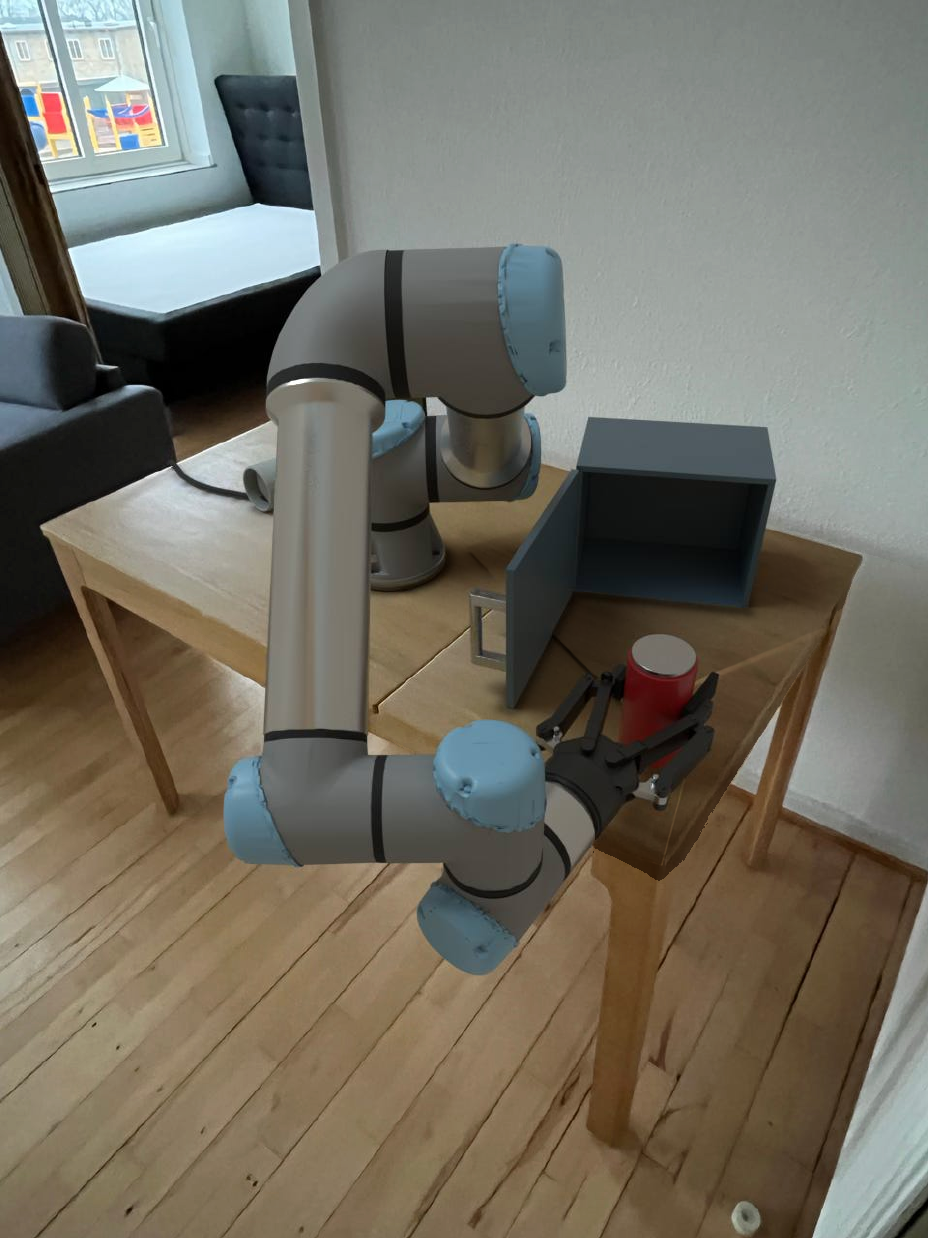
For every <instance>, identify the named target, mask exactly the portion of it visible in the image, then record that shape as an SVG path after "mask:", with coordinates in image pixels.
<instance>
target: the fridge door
mask: <svg viewBox="0 0 928 1238" xmlns="http://www.w3.org/2000/svg"><path fill="white" fill-rule="evenodd" d="M578 483H579V470H576V468H575V469H574V468H573V469H571V470H570V471H569V473H568V474H567V475H566V477H565V478H564V480H563V482H562V483H561V484H560V486H559V487H558V489H557V491H556V492H555V493H554V495H553V497H552V498H551V500H550V501H549V503H548V504H547V505H546V507H545V508H544V510H543V512H542V513H541V515H540V516H539V518H538V519H537V521H536V522H535V523H534V525H533V526H532V528H531V530H530V532H529V533H528V534H527V536H526V537H525V539H524V540H523V542H522V543H521V545H520V546H519V548H518V550H517V551H516V552H515V554H514V555H513V557H512V558H511V560H510V561H509V563H508V564H507V566H506V567H505V593H500V592H495V591H490V590H486V589H480V588H476V587H474V588H470V589H469V590H468V617H469V640H470V642H469V643H470V644H469V645H470V662H471V664H472V665H476V666H479V667H484V668H487V669H491V670H495V671H500V672H504V673H505V707H506V708H510V709H515V707H516V705H517V703H518V701H519V700H520V698H521V696H522V694H523V692H524V690H525V688H526V686H527V684H528V682H529V680H530V678H531V676H532V675H533V673H534V671H535V669H536V667H537V665H538V664H539V662H540V659H541V657H542V655H543V653H544V652H545V649H546V648H547V646H548V644H549V642H550V641H551V638H552V636H553V635H554V633H553V631H554V630H555V628H556V626H557V624H558V622H559V620H560V618H561V616H562V615H563V612H564V611H565V609H566V607H567V605H568V603H569V601H570V600H571V597H572V595H573V590H572V586H573V569H574V552H575V535H576V518H577V501H578ZM483 608H484V609H489V610H494V611H497V612H502V613H505V654H503V653H500V652H495V651H491V650H487V649H484V648H483V647H484V646H483V644H484V643H483Z"/></svg>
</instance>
